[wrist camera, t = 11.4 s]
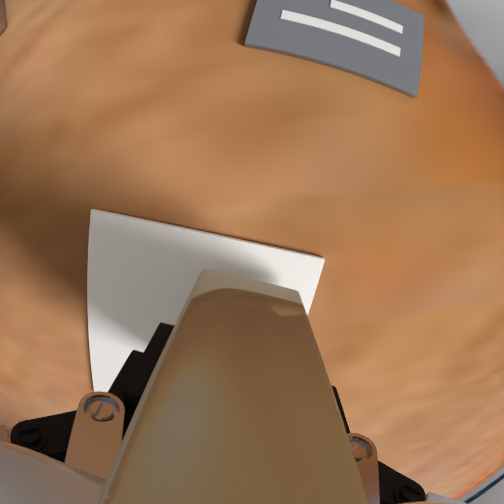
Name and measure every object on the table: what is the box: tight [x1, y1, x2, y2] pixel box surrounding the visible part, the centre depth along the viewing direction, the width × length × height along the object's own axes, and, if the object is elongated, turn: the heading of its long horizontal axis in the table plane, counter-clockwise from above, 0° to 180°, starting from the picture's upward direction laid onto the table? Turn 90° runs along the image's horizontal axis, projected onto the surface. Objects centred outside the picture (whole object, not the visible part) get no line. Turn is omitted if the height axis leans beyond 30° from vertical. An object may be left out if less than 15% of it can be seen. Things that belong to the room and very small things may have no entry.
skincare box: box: [97, 268, 368, 504], centre depth 8 cm, size 6×4×12 cm
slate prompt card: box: [245, 0, 424, 98], centre depth 10 cm, size 8×5×1 cm, turn 77°
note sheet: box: [87, 209, 325, 392], centre depth 15 cm, size 11×12×1 cm
